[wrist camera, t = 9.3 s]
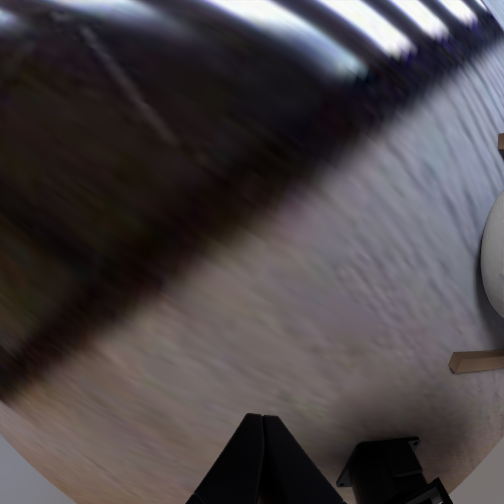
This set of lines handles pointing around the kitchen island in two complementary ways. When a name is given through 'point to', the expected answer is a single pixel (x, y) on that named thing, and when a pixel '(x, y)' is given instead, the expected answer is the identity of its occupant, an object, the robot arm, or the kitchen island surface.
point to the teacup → (494, 256)
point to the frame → (479, 358)
